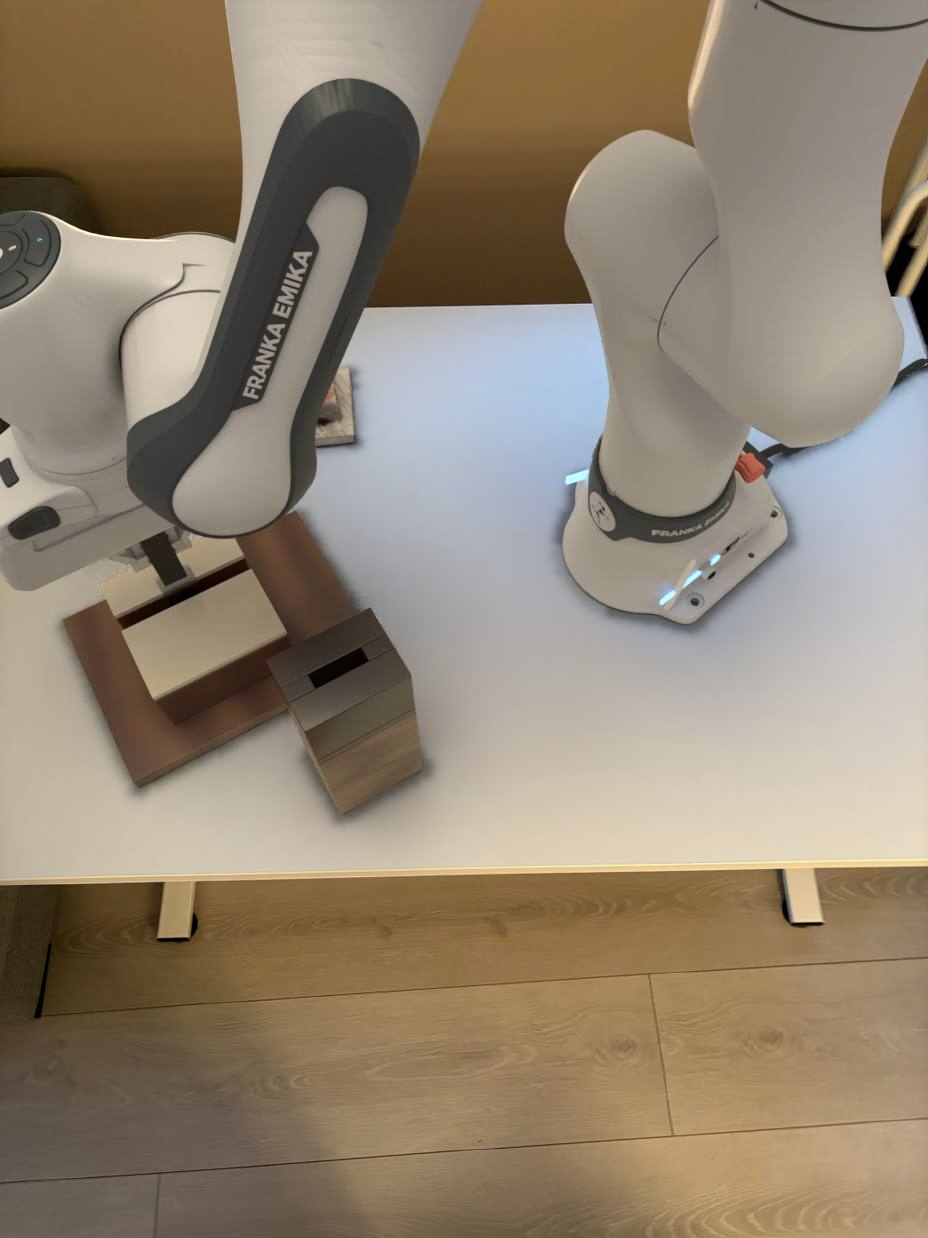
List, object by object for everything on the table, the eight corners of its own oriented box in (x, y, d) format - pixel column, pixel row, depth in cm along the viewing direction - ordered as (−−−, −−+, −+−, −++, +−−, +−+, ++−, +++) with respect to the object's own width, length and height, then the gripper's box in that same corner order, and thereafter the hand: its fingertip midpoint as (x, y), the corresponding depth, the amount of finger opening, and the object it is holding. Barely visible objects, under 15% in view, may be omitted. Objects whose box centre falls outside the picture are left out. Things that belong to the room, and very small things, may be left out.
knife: (207, 600, 84) (156, 501, 70) (216, 617, 83) (166, 521, 69) (176, 615, 83) (118, 518, 69) (185, 632, 82) (128, 538, 68)
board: (298, 517, 92) (296, 509, 90) (383, 659, 85) (382, 653, 83) (67, 626, 86) (61, 619, 85) (138, 787, 79) (133, 782, 78)
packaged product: (169, 431, 90) (171, 355, 95) (182, 461, 95) (184, 386, 99) (351, 414, 91) (345, 339, 96) (356, 444, 96) (350, 371, 100)
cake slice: (242, 561, 88) (227, 524, 82) (258, 589, 86) (243, 554, 80) (123, 617, 85) (98, 584, 79) (137, 648, 83) (113, 616, 78)
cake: (265, 603, 86) (251, 568, 80) (298, 662, 83) (286, 630, 77) (144, 662, 83) (120, 631, 77) (174, 726, 80) (152, 698, 74)
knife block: (390, 713, 82) (370, 606, 64) (422, 769, 80) (412, 675, 61) (310, 757, 81) (265, 659, 62) (341, 815, 78) (304, 732, 60)
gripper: (225, 355, 64) (262, 471, 77) (-64, 475, 60) (25, 579, 72) (264, 416, 62) (295, 526, 74) (-35, 547, 57) (52, 641, 70)
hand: (160, 553), depth 73 cm, fingers closed on knife, 2 cm apart
